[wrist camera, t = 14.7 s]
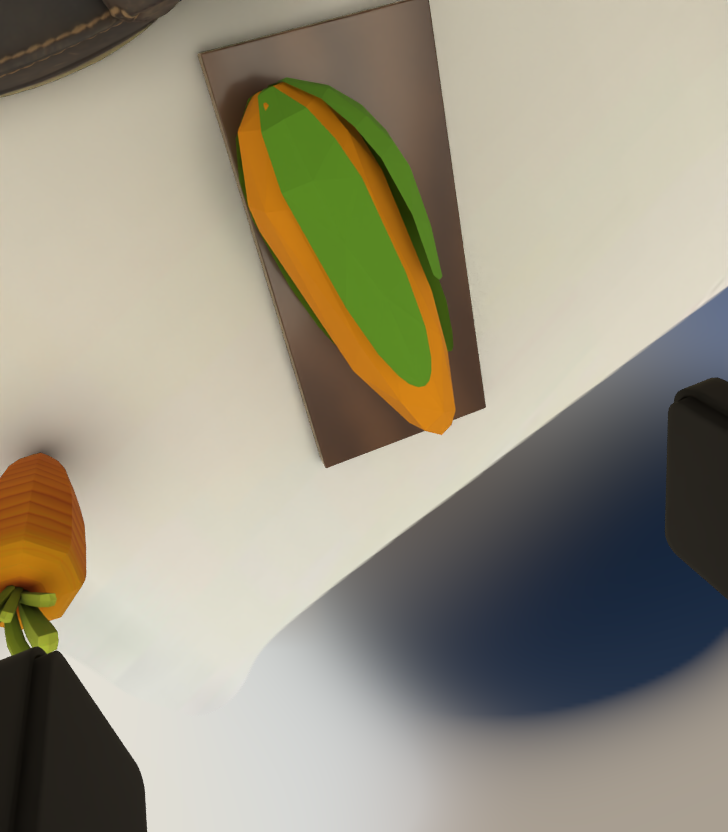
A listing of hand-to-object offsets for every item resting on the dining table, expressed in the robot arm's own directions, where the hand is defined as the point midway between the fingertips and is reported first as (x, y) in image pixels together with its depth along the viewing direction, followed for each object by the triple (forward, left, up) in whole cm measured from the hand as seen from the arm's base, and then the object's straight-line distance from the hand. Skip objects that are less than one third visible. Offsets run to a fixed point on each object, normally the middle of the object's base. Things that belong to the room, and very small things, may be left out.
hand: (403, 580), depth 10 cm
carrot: (+12, +10, -28) cm, 32 cm away
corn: (-7, +5, -27) cm, 29 cm away
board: (-8, +5, -28) cm, 30 cm away
